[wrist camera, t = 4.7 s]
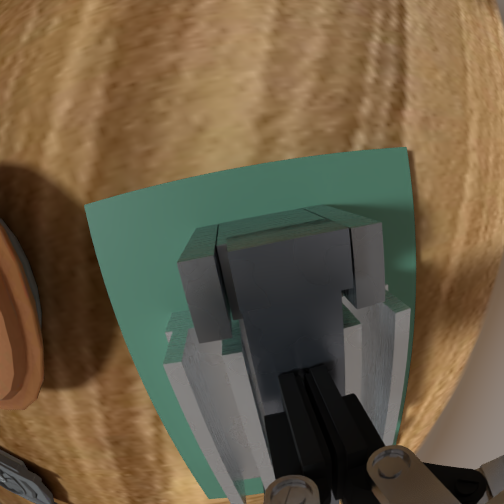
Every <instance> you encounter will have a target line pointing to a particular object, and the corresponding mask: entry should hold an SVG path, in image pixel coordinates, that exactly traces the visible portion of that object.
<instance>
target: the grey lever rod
mask: <svg viewBox="0 0 504 504" xmlns="http://www.w3.org/2000/svg"><path fill="white" fill-rule="evenodd" d="M226 239H227V254H228V258H229V263H230V268H231V273H232V277H233V282H234V287H235V291H236V296H237V300H238V305H239V310H240V313H242V317H243V321H244V326H245V330H246V335H247V339H248V344H249V348H250V352H251V357H252V361H253V366H254V370H255V374H256V379H257V383H258V387H259V391H260V396H261V400H262V404H263V408H264V412H265V415H270V414H275V413H280V412H284V410H283V404H282V399H281V393H280V387H279V382H278V376H280V375H284V374H289V373H293V374H294V376H298V375H300V376H301V379H302V382H303V384H304V387H305V380H304V374H306V373H309V369H310V368H314V367H318V366H321V365H325V366H326V368H327V370H328V371H329V373H330V375H331V377H332V379H333V381H334V383H335V385H336V387H337V389H338V390H339V392H340V394H341V396H345V359H344V329H343V309H342V293H341V291H342V290H346V289H350V288H353V272H352V258H351V246H350V235H349V228H347V227H345V226H343V225H341V224H339V223H337V222H335V221H333V220H330V219H328V218H326V219H320V220H315V221H310V222H304V223H299V224H294V225H288V226H283V227H278V228H273V229H267V230H262V231H257V232H252V233H247V234H242V235H237V236H232V237H227V238H226ZM305 389H306V388H305ZM330 504H339V500H335V498H334V495H333V493H332V490H331V502H330Z"/></svg>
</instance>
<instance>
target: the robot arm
mask: <svg viewBox="0 0 504 504" xmlns="http://www.w3.org/2000/svg"><path fill="white" fill-rule="evenodd" d="M304 380H305V387H304V384H303V382H302V379H301V376H300V375H298V376H294V374H293V373H289V374H284V375H280V376H278V382H279V387H280V393H281V399H282V404H283V410H284V412H280V413H275V414H270V415H265V416H264V422H265V427H266V432H267V438H268V443H269V449H270V454H271V460H272V465H273V470H274V475H275V481H274V482H272V483H271V484H270V485H269V486H268V488H267V489H266V491H265V495H264V504H330V502H331V490H332V493H333V495H334V498H335V500H339V499H341V500H342V503H343V504H504V455H503V456H500V457H499V458H496V459H494V460H492V461H490V462H488V463H485V464H483V465H481V466H480V468H478V469H476V470H473V469H466V468H457V467H450V466H442V465H435V464H429V463H424V462H421V461H420V459H419V458H418V457H417V456H416V455H415V454H414V453H413V452H412V451H411V450H409V449H408V448H406V447H403V446H400V445H389V446H385V444H384V442H383V441H382V439H381V437H380V435H379V434H378V432H377V430H376V428H375V427H374V425H373V423H372V422H371V420H370V418H369V416H368V415H367V413H366V411H365V410H364V408H363V406H362V404H361V403H360V401H359V399H358V398H357V396H356V395H355V394H354V393H352V394H349V395H345V396H341V394H340V392H339V390H338V389H337V387H336V385H335V383H334V381H333V379H332V377H331V375H330V373H329V371H328V370H327V368H326V366H325V365H321V366H318V367H314V368H310V369H309V373H306V374H304ZM305 388H306V389H305Z"/></svg>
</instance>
